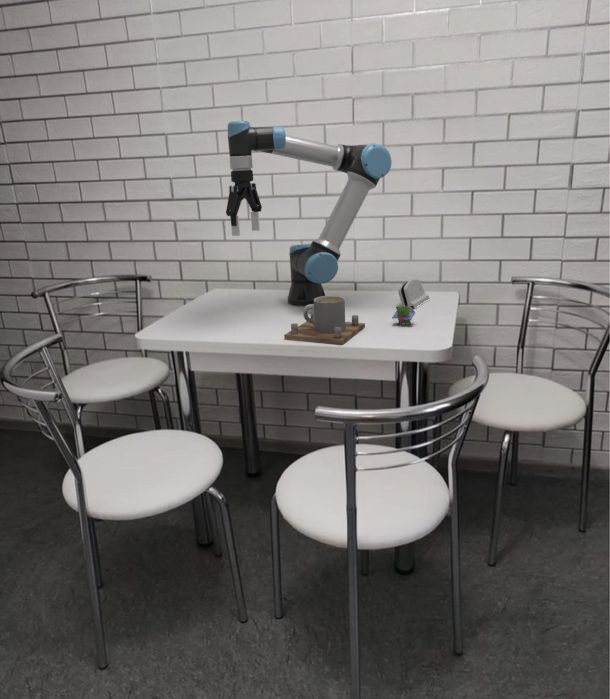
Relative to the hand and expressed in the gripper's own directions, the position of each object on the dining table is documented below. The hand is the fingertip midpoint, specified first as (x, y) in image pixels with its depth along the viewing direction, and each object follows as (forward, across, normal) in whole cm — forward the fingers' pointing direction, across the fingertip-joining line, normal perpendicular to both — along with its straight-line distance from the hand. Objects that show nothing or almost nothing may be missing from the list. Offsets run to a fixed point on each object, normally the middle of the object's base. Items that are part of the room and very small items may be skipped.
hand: (246, 233), depth 212 cm
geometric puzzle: (+31, -6, +55) cm, 63 cm away
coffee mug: (+29, +11, +34) cm, 46 cm away
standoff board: (+31, +11, +34) cm, 47 cm away
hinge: (+31, -36, +50) cm, 69 cm away
